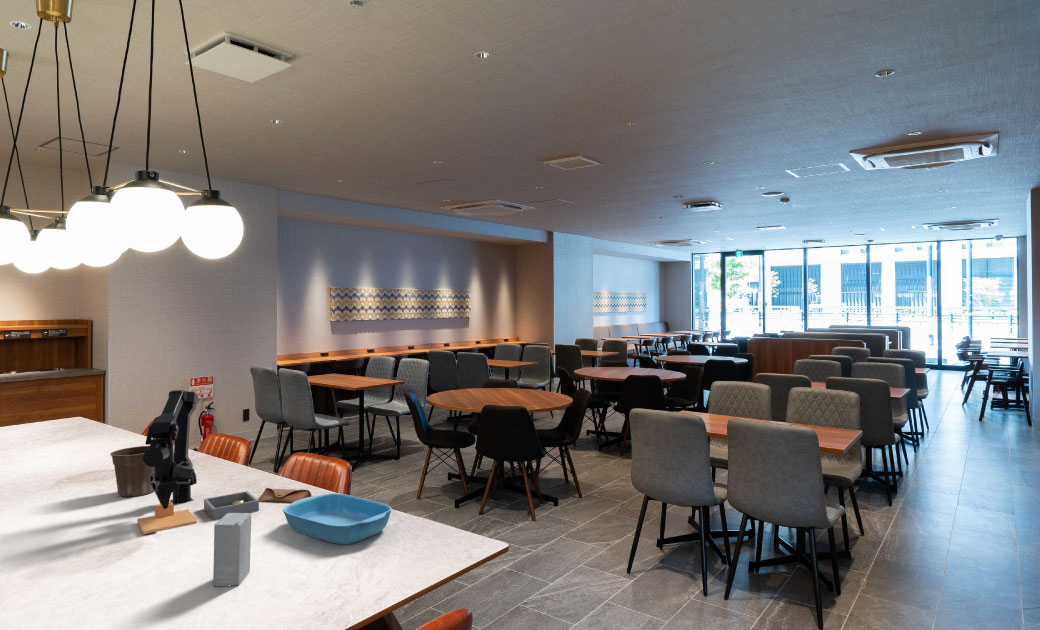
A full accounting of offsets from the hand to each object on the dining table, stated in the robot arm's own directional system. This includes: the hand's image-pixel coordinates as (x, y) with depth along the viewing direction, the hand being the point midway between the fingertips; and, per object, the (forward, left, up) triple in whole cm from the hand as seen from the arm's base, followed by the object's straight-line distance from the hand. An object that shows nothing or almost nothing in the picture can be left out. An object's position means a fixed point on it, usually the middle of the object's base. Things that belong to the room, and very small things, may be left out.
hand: (164, 506), depth 197 cm
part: (+2, +22, -4) cm, 22 cm away
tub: (+5, +19, -4) cm, 20 cm away
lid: (+5, 0, -4) cm, 6 cm away
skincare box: (+62, +6, -4) cm, 63 cm away
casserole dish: (+45, +40, -5) cm, 60 cm away
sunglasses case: (+5, +36, -5) cm, 37 cm away
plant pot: (-42, -3, -4) cm, 42 cm away
